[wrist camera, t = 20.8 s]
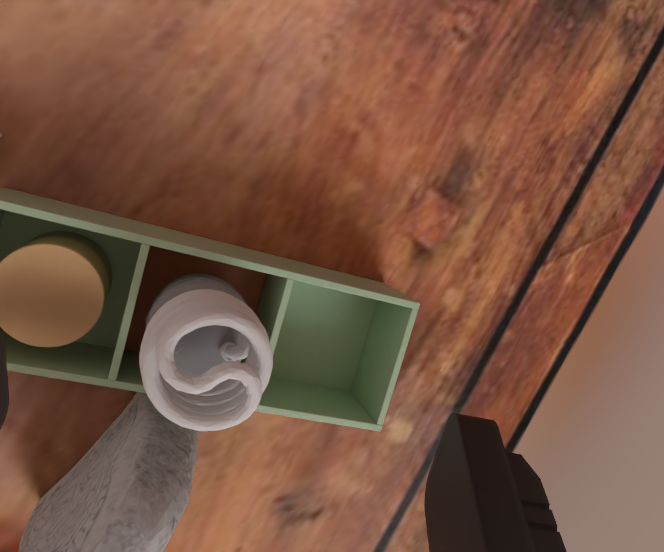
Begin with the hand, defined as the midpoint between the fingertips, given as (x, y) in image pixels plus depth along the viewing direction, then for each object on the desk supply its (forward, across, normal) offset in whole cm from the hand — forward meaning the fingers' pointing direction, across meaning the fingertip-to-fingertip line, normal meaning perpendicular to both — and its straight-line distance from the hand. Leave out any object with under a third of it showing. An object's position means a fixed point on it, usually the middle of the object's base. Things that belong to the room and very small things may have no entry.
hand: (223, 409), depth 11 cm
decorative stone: (+19, +8, +20) cm, 29 cm away
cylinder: (+20, +12, +10) cm, 25 cm away
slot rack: (+22, +5, +11) cm, 25 cm away
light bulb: (+22, +5, +11) cm, 25 cm away
